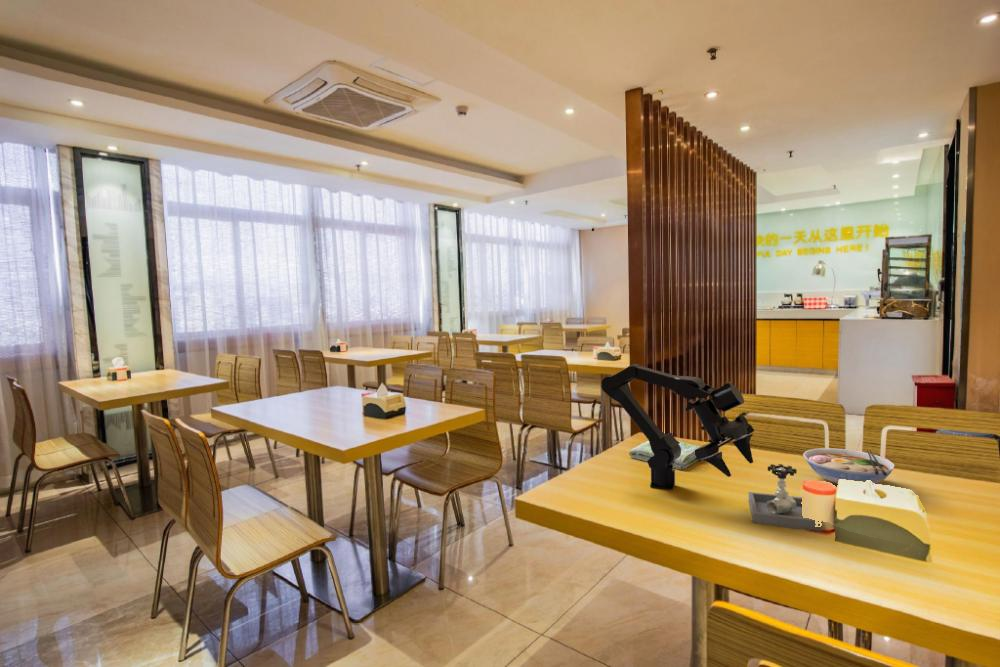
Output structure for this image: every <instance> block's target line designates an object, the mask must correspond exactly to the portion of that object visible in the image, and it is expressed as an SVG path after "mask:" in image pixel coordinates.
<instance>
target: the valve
mask: <svg viewBox="0 0 1000 667" xmlns="http://www.w3.org/2000/svg"><path fill="white" fill-rule="evenodd" d="M767 471H768V472H771V474H772V475H774V476H777V478H778V479H779V480H777V487H778V488H777V489H775V491H774V492H775V493H774V495H776V496H777V497H776V498H775V499H774V500H771V501H767V509H768V510H769V512H770V513H772V514H778V513H781V514H785V513H788V512H789V511H790V510H794V509H796V501H795V500H794V499H793V498H792V497H791V496H792V495H789V491H788V490H786V489H785V488H786V487H787V482H786V481H785V480H786V479H787V476H788V474H789V476H790V477H791V476H792V477H793V476H795V474H797V469H796V468H793V466H792V465H787V466H785V465H784V464H782V463H778V465H776V464H770V465H768V466H767Z"/></svg>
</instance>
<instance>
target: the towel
mask: <svg viewBox="0 0 1000 667" xmlns="http://www.w3.org/2000/svg"><path fill="white" fill-rule="evenodd" d="M676 440H677V439H676ZM677 441H678V442H680V443H679V445H680V447H681V455H680V457H679V458H677V459H676V460H675V462H674V463H673V469H674V470H685V469H686V468H688V467H689V466H692V465H693V464H695V463H696V462H698V461H700V460H701V461H702V459H700V460H698V459H697V458H696V456H695V450H696V449H697V448H699V447H701V446H702V445H694V444H692V443H687V442H684V441H681V440H677ZM628 456H629V457H630V458H631V459H635V460H638V461H642V462H647V461H648V460H649V459H650V458H651V457H653V456H654V454H653V452H652V450H651V447H650V443H649V440H647V441H644V442H642V443H641V444H639V445H637V446H635V447H633V448H631V449H630V450H629V452H628ZM647 463H648V462H647Z"/></svg>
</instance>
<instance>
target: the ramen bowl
mask: <svg viewBox="0 0 1000 667" xmlns="http://www.w3.org/2000/svg"><path fill="white" fill-rule="evenodd" d="M802 455H803V457H804V459H805V461H806V463H807V464H808V465H809V467H810V468H811V469H812V470H813V471H814V473H815V474H817V475H818V476H820V477H822V478H824V479H825V480H828V481H830V482H832V483H834V484H836V485H838V484H837V483H838V480H839V479H846V480H854V481H863V482H865V481H866V480H871V481H872V482H873V483H875V484H878V483H880V482H882V481H884V480H885V479H886V478H888V477H889V475H890V474H891V473H892V472H893V470H894V468H895V466H896V464H894V462H892V461H891V460H890V459H887V458H885V457H883V456H879V455H877V454H873V452H872V451H871V450H870V449H869V450H868V449H866V452H864V451H860V450H853V449H845V448H832V447H826V448H825V447H824V448H812V449H809V450H806V451H804V452H803V453H802Z"/></svg>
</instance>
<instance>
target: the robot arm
mask: <svg viewBox="0 0 1000 667" xmlns="http://www.w3.org/2000/svg"><path fill="white" fill-rule="evenodd" d="M633 380H639V381H642V382H646V383H649V384H651V385H655V386H659V387H663V388H665V389H668V390H671V391H672V392H673V393H674V394H676V395H678V396H680V397H682V398H684V399H686V400H688V401H687V404H686V407H685V412H689V411H691V410H694V411H693V412H694V413H695V414H696V416H697V418H698V419H699V421H700V423H701V424H702V426H701V427H700V429H701V430H702V431H705V432H706V434H707V435H708V437H709V439H708V441H707V442H708V443H706V444H703V445H700V446H701V447H699V448H697V449H696V450H695V456H696V458H697V459H698V461H700V459H702V460H701V461H703V462H704V461H705V462H707V463H708V464H710V465H711V466H713V467H714V468H716V469H717V470H718V471H720V472H721V473H722V474H723V475H725V476H726V477H727V478H729V477H730V478H731V476H732V474H731V472H730V470H729V467H728V466H727V464H726V463H725V460H724V458H723V451H720V448H721V447H723V446H725V445H726V444H728V443H730V442H732V443H733V445H734V447H735V448H737V450H738V451H739V453H740V454H741V455H742V457H744V459H745V460H746V461H747V463H749V464H754V459H753V453H752V450H751V449H752V448H751V443H750V441H751V438H752V437H753V436H754V432H755V429H754V428H753V426H752V424H750V423H749V421H748V419H747V418H746V417H745V416H744V415H738V416H736V417H735V419H733V420H729V418H728V417H727V416H725V415H724V416H722V415H721V412H720V411H722V412H723V413H726V412H728V411H730V410H732V409H734V408H737V407H740V406H741V405H743V404H745V399H744V397H743V394H742V392H741V391H740V390H739V389H738V388H737V387H736V386H734V385H733V383H732V382H731V381H728V382H727V383H724V384H723V385H722V386H720V387H718V388H715V387H714V386H711V385H709V384H706V383H705V382H704V379H702V378H700V377H698V376H690V375H689V376H688V375H674V374H670V373H667V372H664V371H661V370H656V369H653V368H649V367H646V366H642V365H640V364H638V363H635V364H631V365H630V364H629V365H628V366H626V367H625V368H624V369H622V370H621V371H618V372H617V373H615V374H610V375H608V376H607V375H606V376H605V377H603V379H602V380H601V382H600V383H601V385H600V387H601V390H602V391H603V393H605V395H607V396H608V397H609V398H610V399H612V400H613V401H615V402H617V403H619V404H620V406H621V407H622V408H623V410H624V411H625V412H626V413H627V415H628V416H629V417H630V418H631V420H632V421H633V422H634V424H635V425H636V426H637V427H638V429H639V430H640V431H641V432H642V434H643V435H644V436H645V438H646V439H647V441H649V443H650V447H651V450H652V452H653V454H654V456H653V457H651V458H650V459H649V460H648V461H647V465H648V467H649V469H650V485H649V487H650V488H654V489H656V488H657V489H664V490H673V489H674V486H675V484H676V469H674V468H673V463H674V462H675V460H676V459H677V458H679V457H680V455H681V447H680V445H679V443H680V442H678V441H679V440H678V441H677V439H676V438H675V436H674V434H673V433H672V432H669V433H664V432H663V431H662V430H661V429H660V428H659V426H658V425H657V424H656V423H655V422H654V420H653V419H652V418H651V416H650V415H649V414H648V412H646V410H645V409H644V408H643V407H642V405H641V404H640V403H639V401H637V398H635V397H634V396H633V394H632V391H631V390H632V389H631V387H630V384H629V383H631V382H632V381H633ZM709 396H710V397H709ZM707 397H709V398H707ZM705 398H707V399H705ZM695 399H697V400H695ZM693 400H695V401H693Z"/></svg>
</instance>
